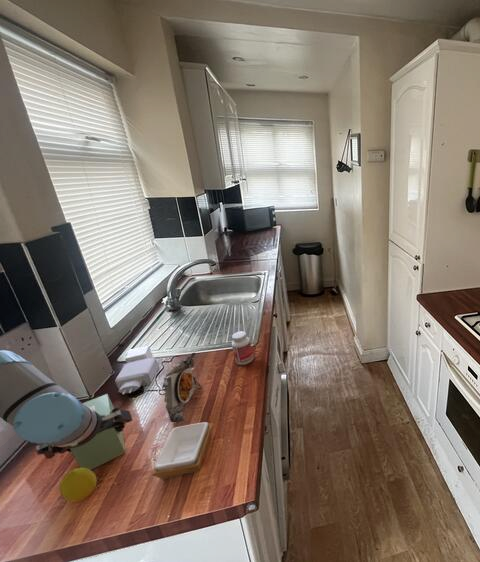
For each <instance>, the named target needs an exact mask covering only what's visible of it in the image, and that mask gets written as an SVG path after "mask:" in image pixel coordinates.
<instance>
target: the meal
mask: <svg viewBox="0 0 480 562" xmlns="http://www.w3.org/2000/svg"><path fill="white" fill-rule="evenodd" d="M195 356H196V352H192V353H191V354H190V355H189V356H187V358H185V359H181V361H180V362H177V363H176V364H175V365H174V366H173V367H172V368H171V370H170V371H169V372H168V373H167V374H165V376H164V378H163V383H162V387H161V389H162V391H164V399H163V402H165V403H166V404H165V410H166V411H167V414H168V416H169V417H168V418H169V421H170V422H171V423H174V424H175V423H176V424H177V423H181V422H186V419H185V418H184V417H183V416H182V415H183V414H184V413H185V410H184V405H185V404H187V403H188V402H190V399H191V398H192V396H193V395H194V390H196V389H198V388H199V387H202V385H201V383H200V381H199V382H198V380H197V377H196V376H195V375H193V370H192V368H193V366H194V364H195V362H194V357H195Z"/></svg>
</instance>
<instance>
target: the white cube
mask: <svg viewBox="0 0 480 562" xmlns="http://www.w3.org/2000/svg"><path fill="white" fill-rule="evenodd" d="M147 358H154V355H153V352H152V350H151V347H150V345H142V346H139V347H134V348H130V349H128V351H127V353H126V355H125V357H124V360H125V364H126V363H128V362H132V361H137V360H142V359H147Z"/></svg>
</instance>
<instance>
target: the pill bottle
mask: <svg viewBox="0 0 480 562" xmlns="http://www.w3.org/2000/svg"><path fill="white" fill-rule="evenodd" d="M231 338H232V341H231V348H232V352H233V357H234V361H235V363H236V364H237V365H239V366H245V365H248V364H250V363H251V362H253V360H254V352H253V348H252V343H251V340H250V338H249V337H248V335H247V332H246V331H244V330H243V331H237V332H235V333H233V334H232V335H231Z"/></svg>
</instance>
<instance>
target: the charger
mask: <svg viewBox="0 0 480 562" xmlns="http://www.w3.org/2000/svg"><path fill="white" fill-rule="evenodd" d="M159 366H160V365H159V363H158V361H157V358H156V357H153V358H147V359H142V360H137V361H132V362H128V363H126V362H125V363H124V365H123V367H122V369H121V370H120V372H119V374H117V376H116V378H115V380H114V382H115V385H116V386H117V389H119V390H118V393H120V394H122V395H123V396H124V395H125V394H131V393H133V392H135V391H137V390H139V389H140V387H143V386H147V385H150V384H151V383H152V381H153V379H154V377H155V375H156V373H157V370H158V369H159Z"/></svg>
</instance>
